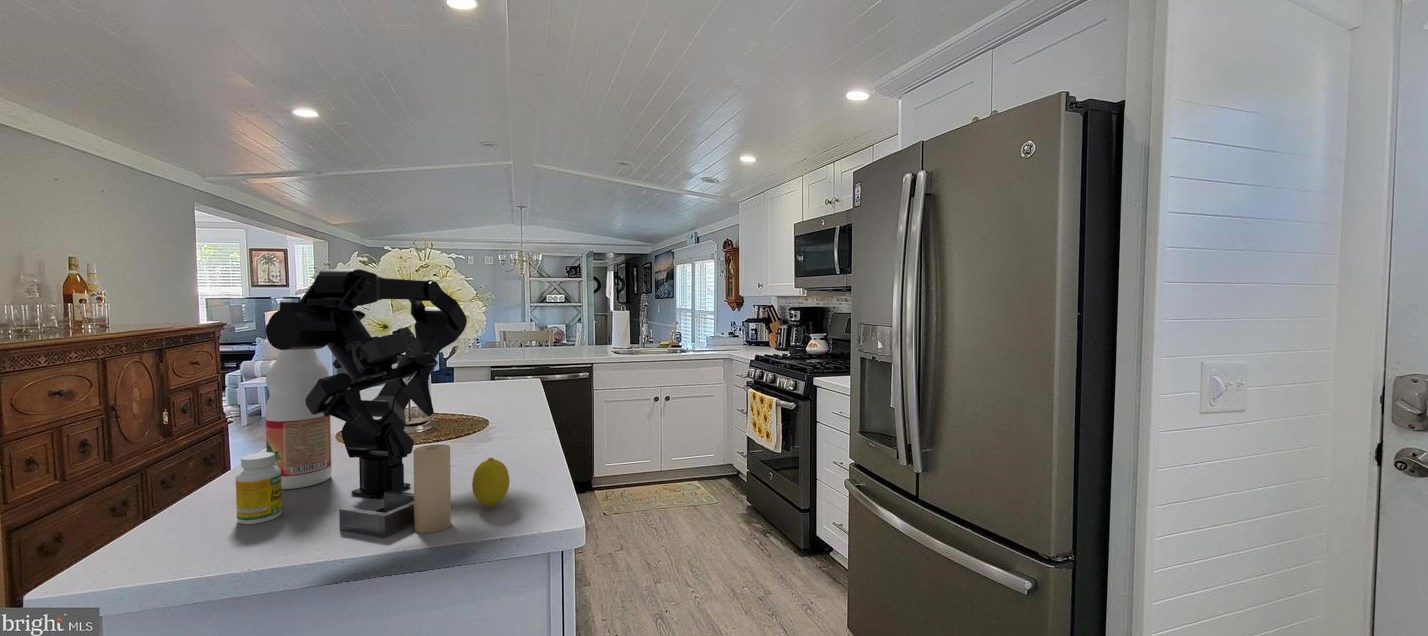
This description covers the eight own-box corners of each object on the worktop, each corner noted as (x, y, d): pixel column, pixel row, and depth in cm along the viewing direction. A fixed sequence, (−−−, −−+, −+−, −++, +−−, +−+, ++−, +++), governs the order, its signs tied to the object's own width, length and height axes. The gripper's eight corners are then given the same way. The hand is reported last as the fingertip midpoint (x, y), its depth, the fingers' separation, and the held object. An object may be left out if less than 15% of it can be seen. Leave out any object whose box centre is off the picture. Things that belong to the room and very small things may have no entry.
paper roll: (406, 530, 81) (405, 451, 81) (432, 518, 86) (431, 443, 85) (433, 535, 80) (432, 454, 79) (458, 522, 84) (457, 446, 84)
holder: (339, 529, 82) (339, 509, 81) (389, 508, 90) (389, 489, 90) (384, 537, 79) (384, 516, 79) (432, 515, 87) (432, 496, 87)
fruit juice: (315, 489, 98) (311, 328, 97) (254, 491, 97) (250, 328, 96) (341, 472, 108) (338, 325, 107) (286, 474, 106) (283, 326, 105)
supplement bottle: (243, 514, 87) (241, 453, 86) (286, 509, 89) (284, 449, 89) (231, 527, 82) (229, 462, 82) (277, 521, 84) (275, 458, 84)
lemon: (497, 515, 87) (496, 463, 87) (465, 512, 88) (464, 461, 88) (516, 502, 93) (515, 454, 92) (486, 499, 94) (485, 452, 93)
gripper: (311, 323, 77) (373, 414, 75) (427, 304, 94) (480, 378, 92) (279, 370, 81) (337, 457, 79) (396, 344, 98) (446, 416, 96)
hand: (406, 424), depth 87 cm, fingers open, 9 cm apart
